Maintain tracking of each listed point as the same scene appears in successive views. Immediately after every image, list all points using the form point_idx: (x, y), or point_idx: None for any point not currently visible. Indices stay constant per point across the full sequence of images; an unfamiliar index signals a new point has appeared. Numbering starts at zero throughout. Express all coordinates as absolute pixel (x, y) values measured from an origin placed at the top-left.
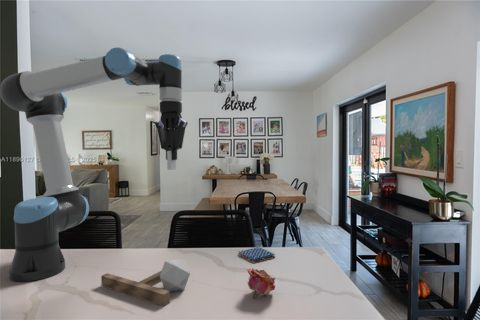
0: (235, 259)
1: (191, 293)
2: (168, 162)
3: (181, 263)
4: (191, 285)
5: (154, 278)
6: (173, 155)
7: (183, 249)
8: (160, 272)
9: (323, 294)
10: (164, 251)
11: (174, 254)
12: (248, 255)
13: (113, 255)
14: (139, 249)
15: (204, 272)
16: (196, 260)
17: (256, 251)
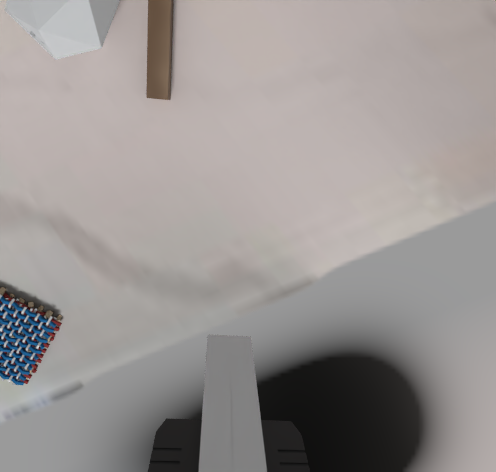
0: (47, 282)
1: None
2: (238, 381)
3: (26, 3)
4: None
5: (148, 3)
6: (165, 464)
7: (256, 292)
8: (160, 49)
9: None
10: (304, 251)
11: (255, 242)
12: (9, 308)
13: (444, 151)
14: (397, 233)
15: (72, 152)
16: (155, 226)
17: (4, 348)
